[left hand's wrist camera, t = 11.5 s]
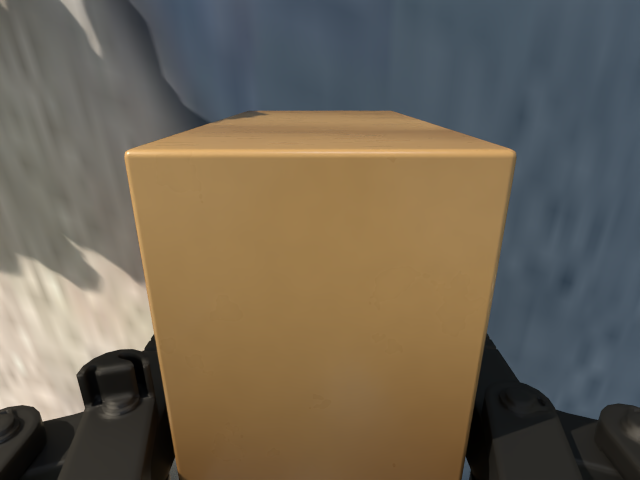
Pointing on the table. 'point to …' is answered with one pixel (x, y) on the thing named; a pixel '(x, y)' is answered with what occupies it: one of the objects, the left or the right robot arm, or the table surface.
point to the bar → (320, 291)
